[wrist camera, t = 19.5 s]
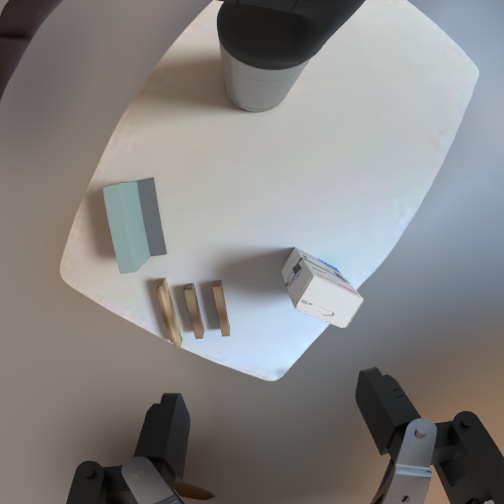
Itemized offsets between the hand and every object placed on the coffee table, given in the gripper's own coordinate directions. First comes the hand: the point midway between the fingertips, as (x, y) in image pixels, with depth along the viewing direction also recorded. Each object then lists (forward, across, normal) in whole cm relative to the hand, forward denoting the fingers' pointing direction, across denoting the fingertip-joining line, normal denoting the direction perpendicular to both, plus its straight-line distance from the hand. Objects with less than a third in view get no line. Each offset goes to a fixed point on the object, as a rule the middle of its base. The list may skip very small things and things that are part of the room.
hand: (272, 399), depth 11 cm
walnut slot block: (+32, +8, +11) cm, 35 cm away
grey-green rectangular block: (+28, +17, -10) cm, 35 cm away
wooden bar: (+32, +14, +12) cm, 37 cm away
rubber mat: (+32, +17, -4) cm, 36 cm away
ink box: (+32, -9, +7) cm, 34 cm away
